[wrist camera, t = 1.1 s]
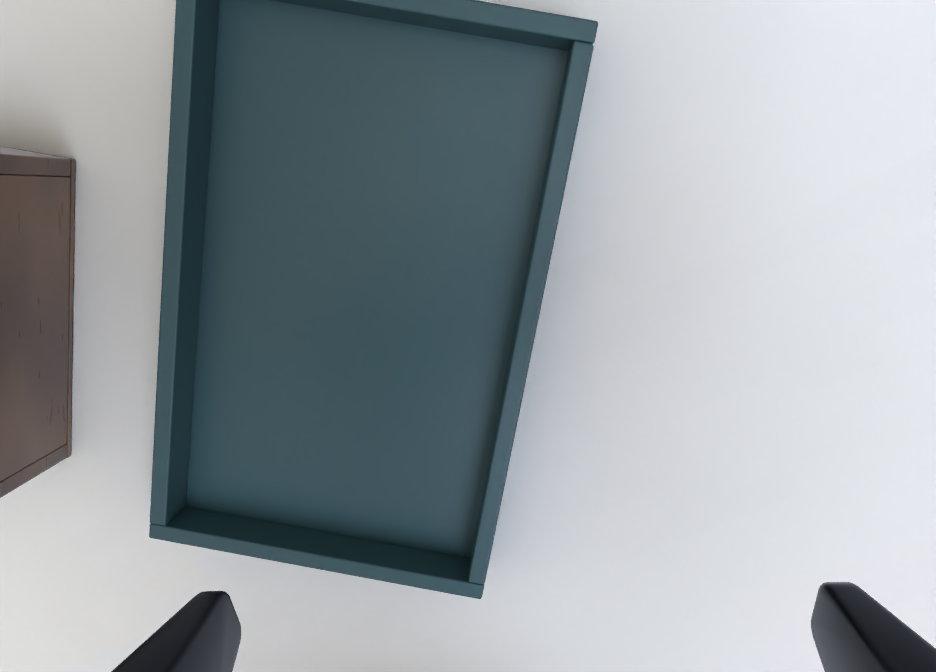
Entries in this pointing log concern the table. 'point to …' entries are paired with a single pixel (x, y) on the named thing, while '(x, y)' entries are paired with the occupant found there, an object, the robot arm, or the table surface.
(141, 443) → the table surface
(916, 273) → the table surface
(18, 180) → the open box
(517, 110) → the tray
